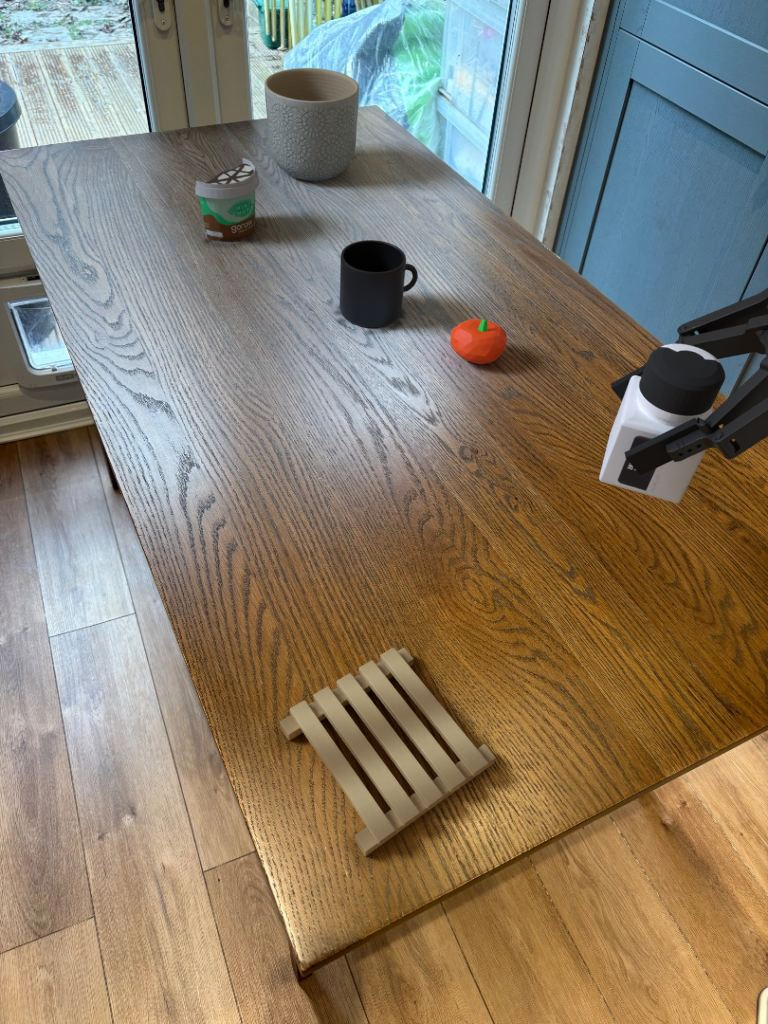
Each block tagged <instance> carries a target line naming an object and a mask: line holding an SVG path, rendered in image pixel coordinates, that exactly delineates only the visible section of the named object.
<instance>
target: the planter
mask: <svg viewBox="0 0 768 1024" xmlns="http://www.w3.org/2000/svg"><path fill="white" fill-rule="evenodd" d="M264 99H265V101H264V102H265V108H266V109H265V111H266V121H267V132H268V133H267V135H268V143H269V148H270V154H271V156H272V158H273V160H274V162H275V164H276V165H277V166H278V167H279V168H280V170H282V171H283V172H284V173H285V174H287V175H288V176H290V177H292V178H295V179H297V180H301V181H306V182H322V181H328V180H332V179H334V178H337V177H338V176H340V175H342V173H344V172H345V171H347V169H348V168H349V167H350V165H351V163H352V161H353V159H354V156H355V152H356V144H357V132H358V118H359V102H360V101H359V100H360V85H359V83H358V82H357V80H355V79H354V78H353V77H351V76H350V75H347V74H346V73H342V72H339V71H335V70H330V69H327V68H326V69H325V68H317V67H298V68H290V69H283V70H280V71H277V72H274V73H272V74H270V75H268V77H267V78H266V79H265V81H264Z"/></svg>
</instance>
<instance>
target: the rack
mask: <svg viewBox="0 0 768 1024" xmlns="http://www.w3.org/2000/svg"><path fill="white" fill-rule="evenodd" d="M379 660H380V661H379V662H377V663H376V662H375V661H374V660H373V659H372V660H370V661H368V662H366V663H365V664H363V665H361V666H359V668H358V673H359V674H357V675H355V676H354V675H353V674H352V673H351V672H349V673H348V674H346V675H344V676H343V677H341V678H339V679H337V680H336V687H335V688H334V689H331V688H330V686H326V687H324V688H322V689H320V690H319V691H317V692H315V693H313V701H312V702H310V703H308V702H307V701H306V700H305V699H304V700H302V701H300V702H298V703H297V704H295V705H294V706H291V707H290V708H289V713H290V714H289V715H288V716H287V717H285V718H283V719H282V720H280V721H279V727H280V730H281V731H282V733H283V734H284V736H285V737H286V739H287V741H291V740H293V739H294V738H297V737H298V736H299V735H301V734H304V736H305V737H306V739H307V740H308V742H309V743H310V745H311V746H312V748H313V750H314V751H315V752H316V754H317V755H318V757H319V758H320V760H321V761H322V762H323V764H324V765H325V767H326V768H327V770H328V772H329V773H330V774H331V775H332V778H333V779H334V780H335V782H336V783H337V785H338V786H339V788H340V789H341V790H342V792H343V794H344V795H345V796H346V798H347V799H348V802H350V804H351V805H352V807H353V808H354V810H355V812H356V813H357V814H358V815H359V817H360V819H361V820H362V822H363V823H364V825H365V826H366V827H364V828H363V829H362V830H360V831H359V832H357V833H356V834H354V842H355V844H356V845H357V847H358V848H359V850H360V852H361V853H362V854H363V856H364V857H367V856H369V855H370V854H371V853H373V852H374V851H375V850H376V849H378V848H379V847H381V846H382V845H384V844H385V843H387V842H388V841H390V839H392V838H394V836H396V835H397V834H399V833H400V832H401V831H403V830H404V829H406V828H407V827H409V826H410V825H411V824H413V823H414V822H415V821H416V820H418V819H420V818H421V817H423V816H424V815H425V814H426V813H428V812H429V811H430V810H432V809H433V808H435V807H436V806H437V805H439V804H441V802H443V801H444V800H446V799H447V798H449V796H452V795H453V794H454V793H456V792H457V791H458V790H460V789H461V788H462V787H463V786H465V785H466V784H468V783H469V782H470V781H471V780H473V779H475V778H476V777H477V776H479V775H480V774H482V773H484V771H485V770H487V769H488V768H490V767H491V766H492V765H494V764H495V761H496V759H497V758H496V756H495V755H494V753H493V752H492V751H491V750H490V748H489V747H488V746H487V745H486V743H484V744H482V745H480V746H479V747H478V748H477V747H476V746H475V744H474V743H473V742H472V741H471V740H470V738H469V737H468V736H467V735H466V733H465V732H464V731H463V730H462V729H461V728H460V726H459V725H458V723H457V722H456V721H455V720H454V719H453V717H452V716H451V715H450V714H449V713H448V711H446V709H445V708H444V707H443V705H442V704H441V703H440V702H439V700H438V699H437V698H436V697H435V695H434V694H433V693H432V692H431V691H430V689H428V687H427V686H426V685H425V684H424V681H422V680H421V679H420V678H419V676H418V675H417V673H415V671H414V670H413V668H411V667H412V666H413V665H414V657H413V656H412V655H411V653H410V652H409V651H408V650H407V648H406V647H402V648H401V649H399V650H397V649H396V648H395V647H392V648H390V649H388V650H386V651H384V652H382V653H381V654H380V655H379ZM392 678H394V679H395V680H396V681H397V683H398V684H399V685H400V686H401V687H402V689H403V690H404V691H405V693H406V694H407V695H408V696H409V697H410V699H411V700H412V701H413V702H414V705H416V706H417V708H418V709H419V710H420V711H421V713H422V714H423V715H424V717H425V718H426V719H427V720H428V721H429V723H430V724H431V725H432V727H433V728H434V729H435V730H436V732H437V733H438V734H439V735H440V736H441V738H442V739H443V740H444V741H445V743H446V744H447V745H448V746H449V748H450V749H451V751H452V752H453V753H454V754H455V755H456V757H457V758H458V759H459V761H457V762H456V763H454V761H453V760H452V758H450V756H449V755H448V754H447V752H446V751H445V750H444V748H443V747H442V746H441V744H440V743H439V742H438V741H437V739H435V737H434V736H433V735H432V733H431V731H429V729H428V728H427V727H426V726H425V725H424V723H423V722H422V720H421V719H420V718H419V717H418V716H417V714H416V713H415V712H414V711H413V709H412V708H411V706H410V705H409V704H408V703H407V702H406V700H405V699H404V698H403V697H402V695H401V694H400V693H399V691H398V690H397V689H396V688H395V687H394V685H393V684H392V682H391V681H390V680H391V679H392ZM371 691H372V692H373V693H374V694H375V696H376V697H377V698H378V699H379V700H380V702H381V703H382V704H383V706H384V707H385V709H386V710H387V711H388V713H389V714H390V715H391V716H392V717H393V719H394V720H395V722H396V723H397V724H398V726H399V727H400V728H401V730H403V732H404V733H405V735H406V736H407V737H408V739H409V740H410V741H411V742H412V744H413V745H414V746H415V748H416V749H417V750H418V752H419V753H420V754H421V755H422V757H423V758H424V759H425V761H426V762H427V763H428V764H429V766H430V767H431V769H432V770H433V771H434V772H435V774H436V775H437V776H436V777H435V778H434V779H432V778H431V776H430V775H429V774H428V773H427V771H426V770H425V769H424V767H423V766H422V765H421V764H420V763H419V761H418V760H417V758H416V757H415V756H414V754H413V753H412V751H411V750H410V749H409V747H407V745H406V744H405V742H403V740H402V738H401V737H400V736H399V735H398V734H397V732H396V731H395V729H394V728H393V727H392V726H391V724H390V723H389V721H388V720H387V719H386V718H385V716H384V715H383V713H381V711H380V709H378V707H377V706H376V704H375V703H374V702H373V700H372V699H371V698H370V696H369V695H368V693H369V692H371ZM348 705H350V706H351V707H352V708H353V710H354V711H355V713H356V714H357V715H358V717H359V718H360V719H361V721H362V722H363V724H364V725H365V726H366V728H368V730H369V731H370V733H371V734H372V736H373V738H374V739H376V741H377V742H378V744H379V746H381V748H382V749H383V750H384V752H385V753H386V755H387V756H388V758H389V759H390V760H391V761H392V763H393V764H394V765H395V767H396V768H397V769H398V771H399V772H400V774H401V775H402V776H403V778H404V779H405V780H406V782H407V783H408V784H409V786H410V787H411V789H412V790H413V791H414V793H412V794H411V795H410V796H409V795H408V794H407V792H406V791H405V789H404V788H403V786H401V784H400V782H399V781H398V780H397V779H396V777H395V776H394V774H393V773H392V771H391V770H390V769H389V768H388V766H387V765H386V763H385V762H384V761H383V759H382V758H381V756H379V754H378V753H377V751H376V750H375V749H374V747H373V745H372V744H371V743H370V742H369V740H368V738H367V737H366V736H365V734H364V733H363V732H362V731H361V729H360V728H359V726H358V725H357V723H356V722H355V721H354V719H353V718H352V717H351V716H350V714H349V712H347V710H346V708H345V707H347V706H348ZM325 719H327V720H328V722H329V723H330V724H331V726H332V727H333V729H334V730H335V732H336V733H337V734H338V736H339V737H340V739H341V740H342V741H343V743H344V744H345V746H346V747H347V748H348V750H349V752H350V754H352V755H353V757H354V758H355V760H356V761H357V762H358V764H359V765H360V767H361V768H362V770H363V771H364V773H365V774H366V775H367V777H368V778H369V780H370V781H371V782H372V784H373V785H374V787H375V789H377V791H378V792H379V794H380V796H381V797H382V798H383V800H384V801H385V802H386V804H387V806H388V807H389V808H390V809H389V811H387V812H384V811H383V810H382V809H381V807H380V806H379V804H378V803H377V801H376V800H375V798H374V797H373V795H372V794H371V793H370V791H369V790H368V788H367V787H366V785H365V784H364V782H363V781H362V780H361V778H360V777H359V775H358V774H357V772H356V771H355V770H354V768H353V767H352V766H351V764H350V763H349V761H348V760H347V759H346V757H345V755H344V754H343V752H342V751H341V750H340V748H339V747H338V745H337V744H336V742H335V741H334V739H333V738H332V737H331V735H330V734H329V732H328V731H327V729H326V728H325V727H324V725H323V724H322V723H321V722H323V721H324V720H325Z"/></svg>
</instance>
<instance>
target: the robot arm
mask: <svg viewBox="0 0 768 1024" xmlns="http://www.w3.org/2000/svg"><path fill="white" fill-rule="evenodd" d="M676 332H677V333H678V339H677V340H675V342H674V344H685V345H690V346H694V347H697V348H700V349H702V350H704V351H706V352H708V353H710V354H711V355H713V356H714V357H715V358H716V359H717V360H720V359H727V358H733V357H737V356H742V355H747V354H753V353H757V354H759V355H762V356H763V355H765V357H764V358H763V359H762V360H761V361H760V362H759V368H758V369H757V371H755V372H754V373H753V374H752V375H751V376H750V377H749V378H748V379H747V380H746V381H745V382H744V383H742V384H741V385H740V386H739V387H738V388H737V389H736V390H735V391H734V392H733V393H732V394H731V395H730V396H729V397H728V398H727V399H726V400H725V401H723V402H722V403H721V404H720V405H719V406H718V407H717V408H715V410H713V411H712V414H711V415H710V416H709V417H708V418H706V419H705V420H703V419H701V418H699V417H698V418H697V419H696V418H693V419H691V420H689V421H687V422H685V423H683V424H681V425H679V426H677V427H675V428H673V429H671V430H669V431H667V432H665V433H663V434H661V435H659V436H657V437H655V438H652V439H650V440H648V441H646V442H644V443H642V444H640V445H638V446H636V447H634V448H632V449H630V450H628V451H626V452H624V453H625V458H626V459H627V460H628V462H629V463H630V464H631V465H632V466H633V467H634V469H635V470H636V471H637V472H638V473H639V474H640V476H641V475H643V474H645V473H647V472H649V471H651V470H653V469H656V468H658V467H660V466H662V465H664V464H666V463H668V462H671V461H674V462H679V461H682V460H684V459H687V458H689V457H691V456H693V455H695V454H697V453H700V452H702V451H704V450H706V449H707V450H708V449H715V450H717V451H718V452H720V453H721V454H722V455H723V456H724V458H725V459H727V460H733V459H735V458H737V457H738V456H740V455H741V454H743V453H745V452H746V451H748V450H749V449H750V448H752V447H754V446H755V445H757V444H758V443H760V442H762V441H763V440H764V439H766V438H768V287H767V288H765V289H764V290H762V291H760V292H758V293H756V294H753V295H751V296H749V297H746V298H744V299H742V300H741V299H740V301H737V302H734V303H731V304H729V305H727V306H724V307H721V308H719V309H717V310H715V311H711V312H709V313H706V314H704V315H701V316H699V317H697V318H695V319H692V320H690V321H688V322H684V323H683V324H680V326H678V328H677V329H676ZM696 332H697V333H698V334H696ZM646 364H647V361H646V362H645V363H644V364H643V365H642V366H640V367H638V368H636V369H635V370H633V371H631V372H629V373H627V374H626V375H624V376H622V377H620V378H619V379H616V380H615V381H613V382H610V388H611V390H612V391H613V393H615V395H616V396H617V397H618V398H619V400H620V401H621V402H622V400H623V398H624V395H625V392H626V390H627V387H628V384H629V382H630V379H631V377H632V376H635V375H636V376H640V377H642V374H643V372H644V369H645V366H646ZM721 425H722V427H720V426H721ZM707 450H706V451H707Z"/></svg>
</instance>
